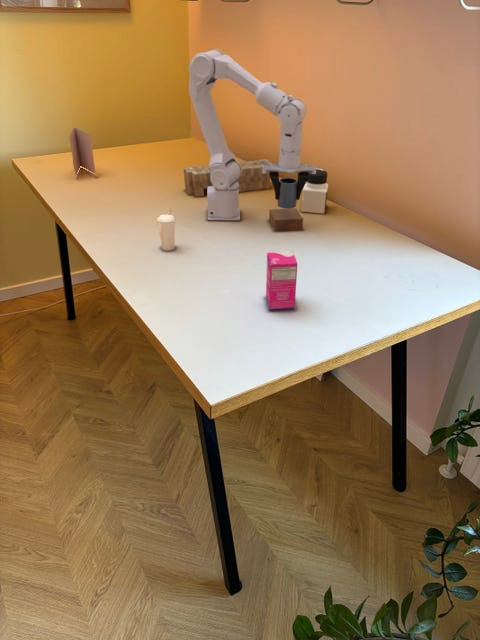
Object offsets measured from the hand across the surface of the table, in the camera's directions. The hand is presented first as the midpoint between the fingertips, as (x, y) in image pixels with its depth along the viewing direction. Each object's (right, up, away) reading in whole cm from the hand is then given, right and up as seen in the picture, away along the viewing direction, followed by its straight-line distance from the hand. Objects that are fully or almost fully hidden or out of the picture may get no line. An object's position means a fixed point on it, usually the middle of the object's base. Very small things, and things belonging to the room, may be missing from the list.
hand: (287, 198), depth 145 cm
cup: (0, -2, +1) cm, 2 cm away
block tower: (-17, +10, +29) cm, 35 cm away
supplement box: (-4, -31, -31) cm, 44 cm away
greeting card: (-68, +18, +40) cm, 81 cm away
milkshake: (-32, -15, -9) cm, 36 cm away
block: (0, -7, +5) cm, 8 cm away
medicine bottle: (+10, 0, +16) cm, 18 cm away
